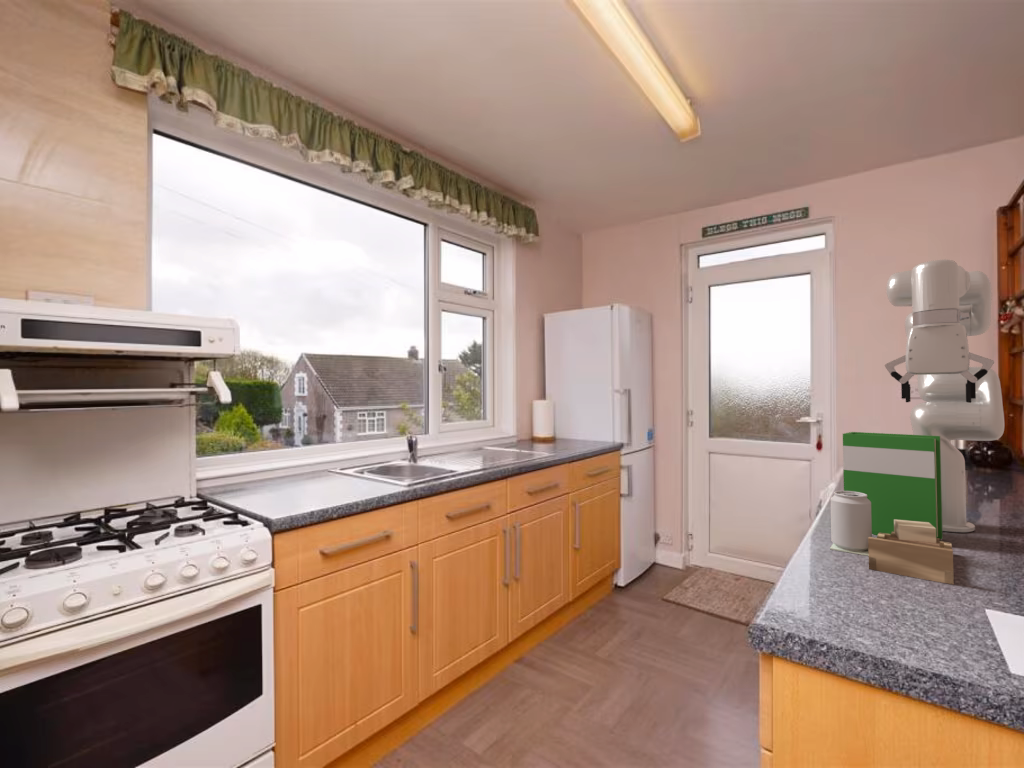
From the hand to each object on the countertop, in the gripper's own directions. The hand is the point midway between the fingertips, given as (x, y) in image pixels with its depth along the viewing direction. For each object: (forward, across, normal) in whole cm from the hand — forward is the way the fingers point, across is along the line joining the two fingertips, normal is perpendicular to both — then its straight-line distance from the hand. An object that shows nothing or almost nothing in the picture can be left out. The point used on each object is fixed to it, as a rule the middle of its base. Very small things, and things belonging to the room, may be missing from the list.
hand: (937, 402), depth 104 cm
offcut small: (+29, +4, +2) cm, 29 cm away
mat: (+32, +15, +5) cm, 36 cm away
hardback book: (+32, +9, -14) cm, 37 cm away
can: (+32, +15, +5) cm, 36 cm away
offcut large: (+33, +4, +2) cm, 33 cm away
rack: (+32, +4, +7) cm, 33 cm away
